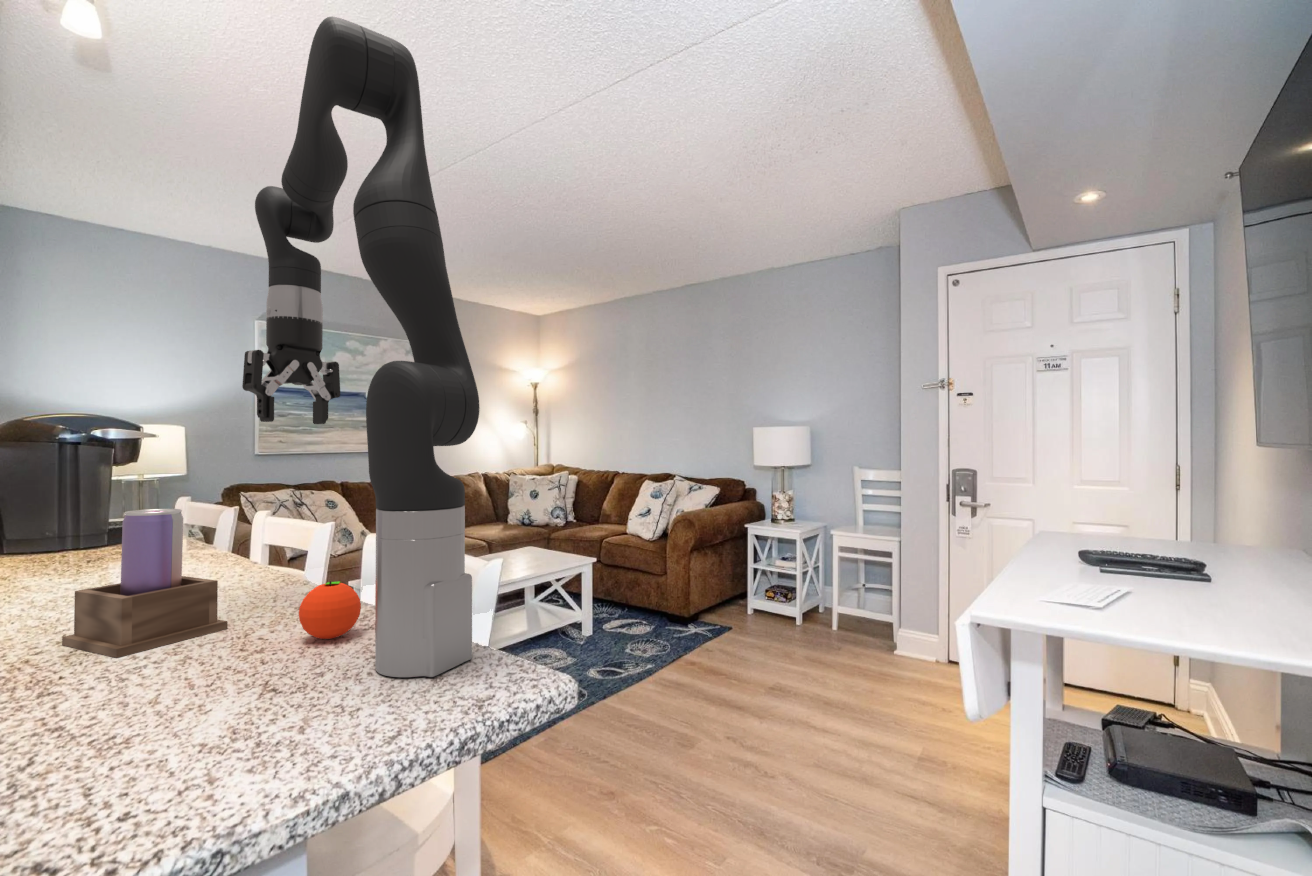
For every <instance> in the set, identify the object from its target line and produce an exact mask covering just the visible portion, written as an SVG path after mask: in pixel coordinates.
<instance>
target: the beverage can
mask: <svg viewBox="0 0 1312 876" xmlns="http://www.w3.org/2000/svg"><path fill="white" fill-rule="evenodd" d="M182 511H183V510H182V508H152V509H150V508H149V509H137V510H135V509H134V510H127V511H125V512H124V518H123V519H122V529H121V530H122V531H121V532H122V533H121V535H122V536H121V559H120V560H121V561H120V564H121V565H120V583H121V588H120V595H124V596H130V595H136V594H141V593H146V592H152V591H157V590H162V589H168V588H173V587H178V586H181V581H182V576H183V575H182V574H183V547H184V544H183V541H184V540H183V536H184V517H183V516H184V515H183V514H182Z"/></svg>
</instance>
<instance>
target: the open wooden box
mask: <svg viewBox="0 0 1312 876" xmlns="http://www.w3.org/2000/svg"><path fill="white" fill-rule="evenodd" d="M218 581H219V580H215V579H208V578H200V577H199V578H198V577H192V576H187V575H186V576H184V575H182V581H181V586H178V587H173V588H168V589H162V590H157V591H152V592H146V593H141V594H136V595H130V596H124V595H120V588H121V582H120V583H114V584H110V585H109V584H107V585H102V586H96V587H90V588H85V589H78V590H74V608H73V609H74V612H73V613H74V619H73V620H74V621H73V623H74V625H73V634H68V635H66V636H62V637H61V640H62V641H61V646H65V647H69V648H73V649H78V650H81V651H85V652H90V653H93V654H97V655H102V656H103V655H104V656H108V657H112V658H116V659H117V658H118V659H119V658H121V657H125V656H129V655H134V654H137V653H140V652H144V651H147V650H152V649H155V648H159V647H160V648H161V647H163V646H167V645H171V644H175V643H178V642H182V641H186V640H189V639H194V638H198V637H200V636H205V635H209V634H213V633H215V632H216V633H217V632H221V631H225V630H227V629H228V620H222V619H218V600H219V599H218V593H219V591H218V588H219V587H218V586H219V585H218V584H219V583H218Z"/></svg>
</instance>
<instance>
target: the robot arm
mask: <svg viewBox="0 0 1312 876" xmlns="http://www.w3.org/2000/svg"><path fill="white" fill-rule="evenodd" d="M308 55H309V56H308V60H307V64H306V65H307V66H306V72H305V76H304V81H303V82H304V83H303V89H302V94H301V100H300V108H299V115H298V122H297V129H296V135H295V138H294V139H295V140H294V141H293V145H292V148H291V151H290V153H289V156H288V159H287V160H286V164H285V166H284V168H283V172H282V173H281V187H278V186H272V185H267V186H264V187H263V188H262V189H260V190H259V192H258V193H257V195H256V197H255V200H254V210H255V216H256V220H257V223H258V225H259V228H260V232H261V236H262V239H263V241H264V245H265V249H266V254H267V260H268V291H267V297H266V310H265V311H266V312H265V313H266V315H265V316H266V319H265V320H266V321H265V322H266V323H265V324H266V328H265V329H266V330H265V331H266V332H265V335H266V337H265V341H266V343H265V344H266V346H267V348H268V349H267V352H264V351H263V350H261V349H253V350H247V351H245V352H244V361H243V374H242V384H241V385H242V386H241V387H242V390H244V391H245V392H250V393H253V394H254V395H255V396H256V415H257V418H258V419H259V421H260V422H262V423H263V422H265V423H270V422H271V423H272V422H274V421H275V397H274V396H273V395H274V394H275V392H276V391H277V390H278V389H279V387H280V386H283V385H284V384H285V385H286V384H287V385H289V384H292V385H295V386H303V387H304V389H305V390H306V391H308V392H309V393H310V395H311V397H312V398H313V401H312V423H313V425H325V424H327V423H326V422H327V421H328V419H329V402H330V401H331V400H333V399H336V398H337V399H339V398H340V397H341V379H340V378H341V377H340V363H339V362H337V361H322V359H321V358H322V357H321V352H322V350H323V334H324V333H323V326H324V325H323V315H324V313H323V311H324V310H323V309H324V308H323V302H322V265H321V261H320V260H319V258H317V257H316V256H315V255H313V254H311V253H309V252H306V251H304V250H302V249H299V248H298V247H296V246H294V244H292V243H291V242H290V241H289V239H288V238H291V239H295V240H300V241H305V242H309V243H314V244H315V243H316V244H318V243H322V242H325V241H327V240H328V239H329V238H330V237H331V236H332V234H333V231H334V223H335V221H334V205H335V200H336V198H337V197H336V196H338V193H339V191H340V189H341V187H342V185H343V183H344V181H345V179H346V177H347V173H348V167H349V166H348V163H349V162H348V155H347V152H346V148H345V146H344V144H343V140H342V138H341V136H340V135H339V133H338V130H337V128H336V126H335V122H334V120H333V114H332V112H333V109H334V108H335V107H336V106H338V107H340V108H342V109H344V110H348V111H352V112H354V113H357V114H361V115H365V116H368V117H371V118H374V119H378V120H380V121H381V122H382V124H383V126H384V129H385V134H386V145H385V147H384V149H383V151H382V153H381V155H380V157H379V159H378V160H377V162H376V163H375V164H374V166H373V167H372V168H371V170H370V171H369V172H368V174H367V175H366V177H365V178H364V179H363V181H362V183H361V184H360V186H359V188H358V190H357V192H356V195H355V198H354V200H353V205H352V206H353V208H352V210H353V212H352V214H353V220H354V227H355V232H356V238H357V244H358V250H359V251H358V252H359V255H360V256H359V257H360V259H361V262H362V264H363V267H364V269H365V272H366V273H367V275H368V277H369V278H370V280H371V282H372V283H373V285H374V287H375V288H376V290H377V291H378V293H379V294H380V296H381V297H382V298H383V300H384V301H385V303H386V304H387V306H388V307H389V309H390V311H392V313H393V314H394V316H395V317H396V319H397V320H398V322H399V323H400V326H401V327H402V330H403V331H404V333H405V335H406V337H407V340H408V342H409V345H410V349H411V352H412V358H413V361H409V360H393V361H389V362H387V363H385V364H383V365H381V367H379V368H378V370H377V371H376V372H375V374H374V375H373V377H372V379H371V381H370V383H369V386H368V390H367V395H366V404H365V419H366V421H365V424H366V440H367V441H366V442H367V457H368V459H367V460H368V474H369V479H370V484H371V486H372V489H373V492H374V497H375V508H376V509H375V596H374V597H375V602H374V603H375V604H374V605H375V610H374V611H375V612H374V613H375V618H374V619H375V620H374V621H375V623H374V625H375V631H374V632H375V633H374V634H375V641H374V642H375V646H374V647H375V656H374V661H375V663H374V664H375V665H374V666H375V667H374V668H375V670H376V672H377V673H378V674H380V675H382V676H387V677H391V678H414V677H415V678H416V677H428V678H435V677H436V676H439V675H440V674H442V673H445V672H447V671H448V670H450V669H453V668H455V667H458V666H459V665H461V664H464V663H465V662H468V661H469V660H472V658H473V576H472V574H470V573H467V572H466V571H465V570H466V569H465V568H466V566H465V565H466V558H465V557H466V555H465V554H466V553H465V552H466V546H465V545H466V544H465V543H466V538H465V535H466V532H465V531H466V521H465V520H466V511H465V510H466V506H465V504H466V491H465V484H464V483H463V481H462V480H460V479H459V478H457V477H455V476H452V475H450V474H448V473H447V472H445V471H444V470H443V469H441V467H440V466H439V465H438V463H437V461H436V458H435V457H436V456H435V450H434V449H435V448H434V447H450V446H451V447H453V446H459V445H461V444H464V443H465V442H466V441H467V440H469V439H470V438H471V437H472V435H473V434H474V433H475V430H476V428H477V426H478V422H479V417H480V397H479V391H478V387H477V383H476V379H475V376H474V372H473V369H472V366H471V361H470V359H469V356H468V351H467V348H466V346H465V342H464V339H463V335H462V332H461V329H460V325H459V321H458V317H457V313H456V307H455V302H454V297H453V294H452V288H451V284H450V279H449V275H448V269H447V262H446V257H445V250H444V243H443V238H442V232H441V227H440V221H439V217H438V212H437V207H436V203H435V199H434V194H433V188H432V183H431V179H430V177H431V176H430V172H429V165H428V160H427V155H426V154H427V153H426V147H425V137H424V124H423V114H422V113H423V112H422V101H421V93H420V92H421V90H420V83H419V82H420V81H419V75H418V70H417V66H416V63H415V59H414V57H413V55H412V53H411V52H410V50H409V49H408V48H407V46H406V45H404V44H403V43H401V42H400V41H398V40H396V39H394V38H391V37H390V36H387V35H385V34H381V33H379V32H377V31H374V30H372V29H369V28H367V27H365V26H362V25H359V24H357V23H355V22H352V21H350V20H347V19H344V18H341V17H338V16H327V17H326V18H324V19H323V20H322V21H321V22H320V24H319V25H318V27H317V29H316V30H315V34H314V36H313V37H312V43H311V45H310V49H309V53H308ZM266 364H267V366H268V368H269V369H270V370H268V371H267V373H266V374H265V376H264V377H263V372H264V371H263V368H264V366H265V365H266ZM319 372H320V373H321V374H322V377H321V375H320V373H319Z"/></svg>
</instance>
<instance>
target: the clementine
mask: <svg viewBox="0 0 1312 876" xmlns="http://www.w3.org/2000/svg"><path fill="white" fill-rule="evenodd" d="M361 610H362V605H361V599H360V597H359V595H358V593H357V592H356V591H355V590H354V588H352V587H351V586H350V585H348V584H346V583H342V581H339V580H338V581H327V582H326V583H322V584H319V585H316V587H314V588H312V589H311V590H310V591H309V592H308V593H306V595H305V596H304V597H303V599H302V601H301V603H300V606H299V608H298V619H299V622H300V624H301V627H302V629H303V631H305V632H306V633H307V634H308V635H310V636H311V637H314V638H316V639H321V640H331V639H336V638H338V637H340V636H342V635H345V634H346V633H347V632H349V631H350V630H351V629H353V627H354V626H355V625H356V624H357V621H358V619H359V617H360V615H361Z"/></svg>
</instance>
